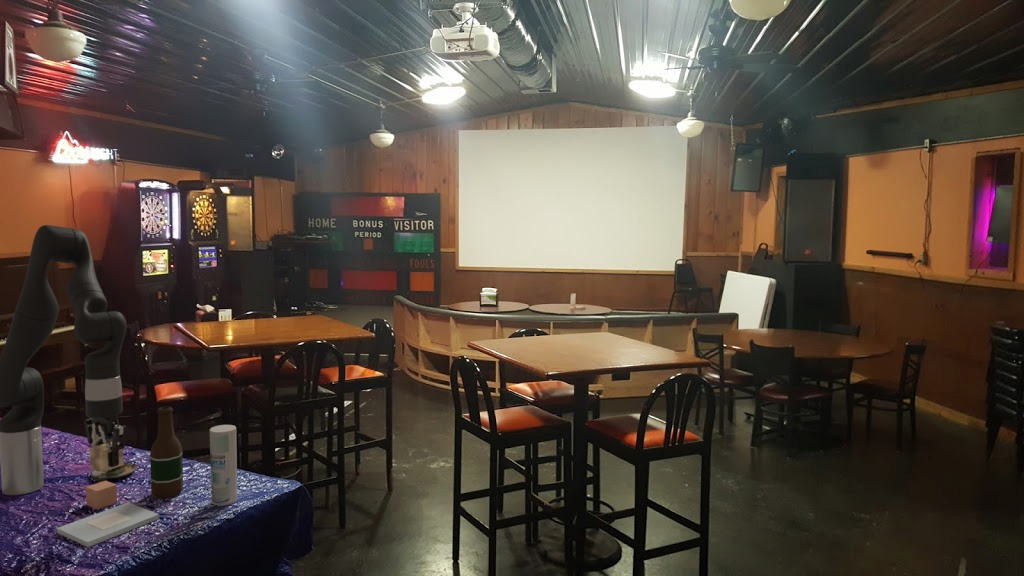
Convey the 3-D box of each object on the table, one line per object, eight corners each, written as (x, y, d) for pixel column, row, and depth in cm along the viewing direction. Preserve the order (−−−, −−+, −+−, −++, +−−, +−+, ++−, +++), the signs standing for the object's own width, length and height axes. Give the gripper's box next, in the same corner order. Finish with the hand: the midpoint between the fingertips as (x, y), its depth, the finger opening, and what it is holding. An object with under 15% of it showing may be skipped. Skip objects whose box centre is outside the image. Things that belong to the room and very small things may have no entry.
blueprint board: (57, 532, 157) (57, 527, 157) (128, 506, 171) (128, 502, 171) (87, 547, 150) (87, 541, 150) (158, 518, 165) (158, 513, 165)
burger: (103, 486, 184) (102, 460, 184) (82, 477, 190) (81, 452, 190) (146, 473, 194) (145, 448, 194) (124, 464, 201) (123, 441, 200)
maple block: (90, 467, 158) (89, 447, 158) (111, 461, 163) (110, 441, 162) (102, 471, 156) (101, 451, 155) (123, 465, 160) (122, 445, 160)
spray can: (242, 497, 179) (241, 425, 177) (227, 507, 173) (226, 433, 171) (221, 494, 180) (219, 423, 178) (205, 504, 174) (204, 430, 172)
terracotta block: (86, 505, 172) (85, 486, 171) (106, 498, 176) (105, 480, 176) (97, 509, 170) (96, 491, 169) (117, 502, 174) (116, 484, 173)
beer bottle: (169, 500, 176) (167, 412, 173) (144, 497, 177) (141, 410, 175) (189, 489, 183) (187, 405, 181) (165, 486, 185) (162, 402, 182)
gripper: (137, 395, 157) (139, 464, 159) (102, 387, 164) (106, 453, 166) (104, 403, 151) (108, 475, 153) (70, 394, 158) (74, 463, 159)
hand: (107, 463), depth 159 cm, fingers closed on maple block, 5 cm apart
